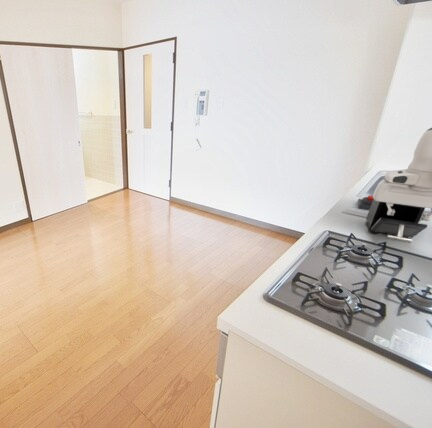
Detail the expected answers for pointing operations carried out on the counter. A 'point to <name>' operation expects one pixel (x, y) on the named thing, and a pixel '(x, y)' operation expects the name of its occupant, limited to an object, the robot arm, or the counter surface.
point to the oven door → (398, 228)
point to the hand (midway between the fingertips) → (407, 217)
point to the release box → (364, 203)
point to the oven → (400, 213)
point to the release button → (370, 198)
